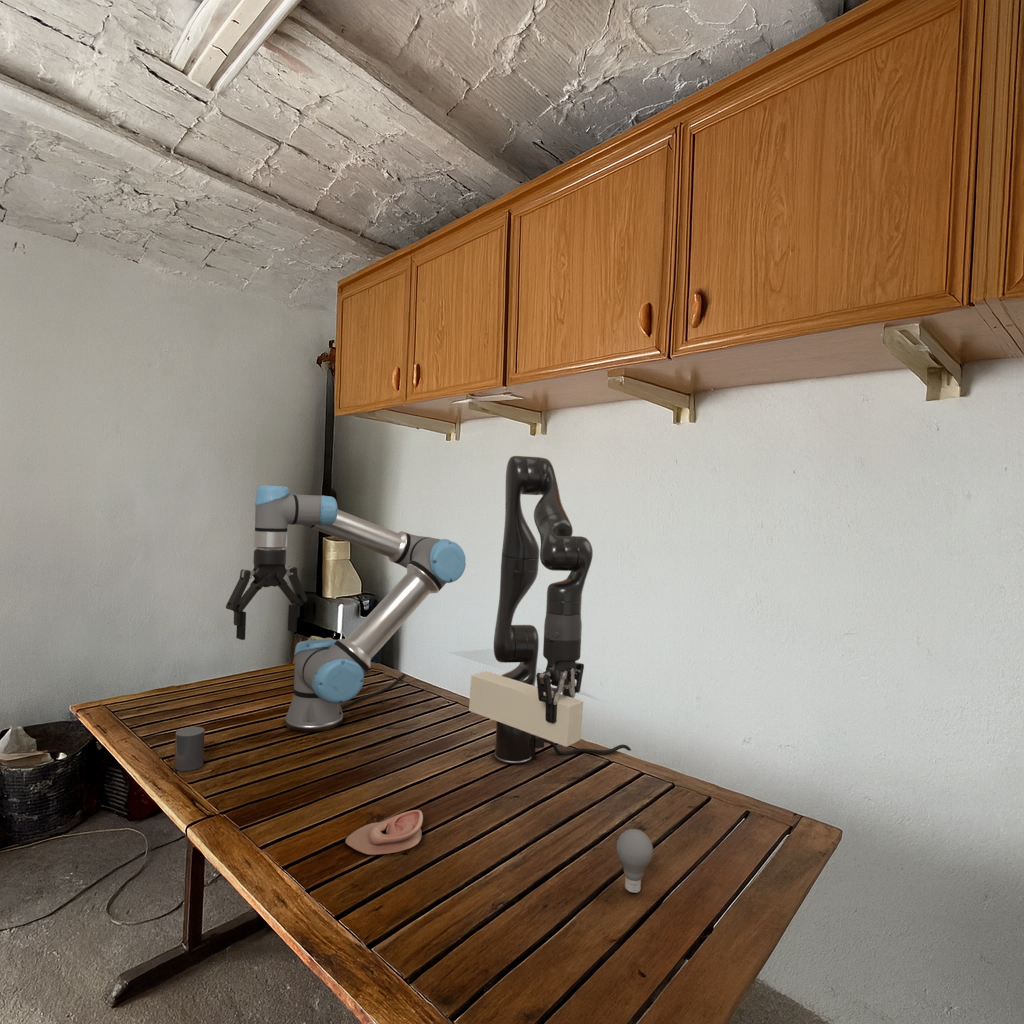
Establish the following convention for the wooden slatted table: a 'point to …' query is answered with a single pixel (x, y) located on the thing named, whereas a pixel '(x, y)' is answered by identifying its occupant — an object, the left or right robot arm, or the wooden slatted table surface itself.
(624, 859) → the light bulb
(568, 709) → the plank
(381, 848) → the anatomical model
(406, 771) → the wooden slatted table surface
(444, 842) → the wooden slatted table surface
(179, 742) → the dark grey cylinder
